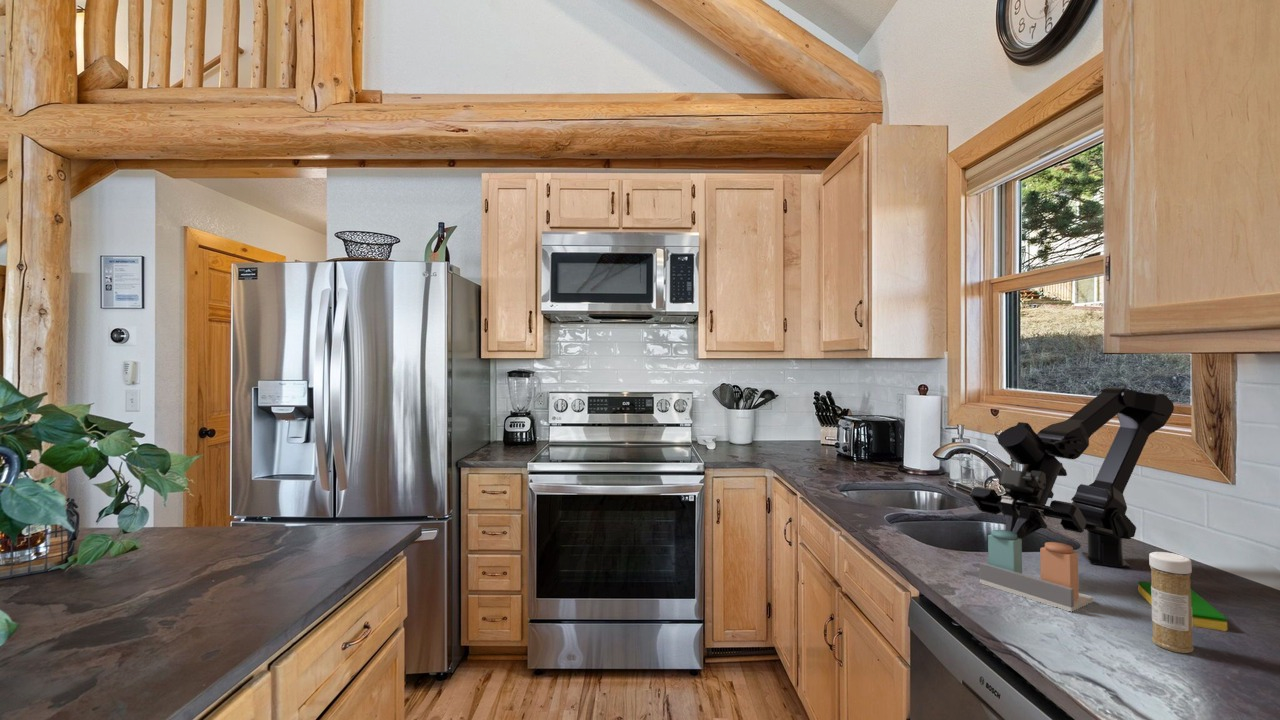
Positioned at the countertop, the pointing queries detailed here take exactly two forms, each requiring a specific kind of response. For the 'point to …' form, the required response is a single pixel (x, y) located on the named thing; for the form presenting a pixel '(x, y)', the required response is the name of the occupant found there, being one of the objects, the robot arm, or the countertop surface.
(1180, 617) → the sprinkles bottle
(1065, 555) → the orange domed block
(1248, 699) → the countertop surface
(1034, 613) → the countertop surface
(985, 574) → the button console
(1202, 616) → the dish sponge
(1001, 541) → the button teal
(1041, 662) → the countertop surface
